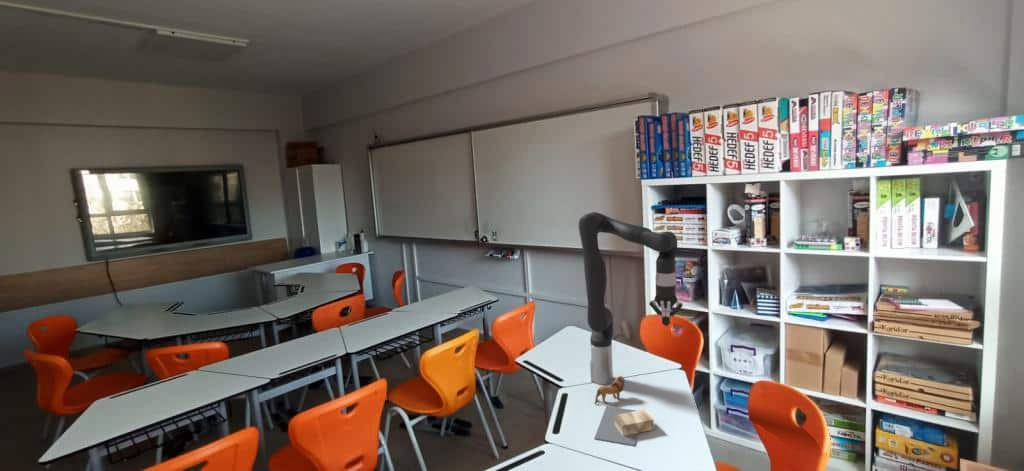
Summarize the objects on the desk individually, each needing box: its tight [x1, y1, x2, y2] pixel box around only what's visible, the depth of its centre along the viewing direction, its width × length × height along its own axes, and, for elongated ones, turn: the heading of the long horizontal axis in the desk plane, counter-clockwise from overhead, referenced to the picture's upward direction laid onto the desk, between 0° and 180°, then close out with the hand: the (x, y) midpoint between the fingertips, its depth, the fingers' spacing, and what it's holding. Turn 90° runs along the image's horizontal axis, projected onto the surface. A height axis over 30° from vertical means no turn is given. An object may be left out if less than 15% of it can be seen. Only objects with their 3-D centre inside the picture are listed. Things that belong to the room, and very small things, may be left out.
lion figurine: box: [594, 375, 626, 405], centre depth 187 cm, size 15×5×9 cm, turn 114°
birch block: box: [614, 409, 655, 436], centre depth 168 cm, size 4×7×12 cm
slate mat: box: [593, 405, 639, 447], centre depth 170 cm, size 14×22×1 cm, turn 157°
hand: (666, 325), depth 182 cm, fingers closed
